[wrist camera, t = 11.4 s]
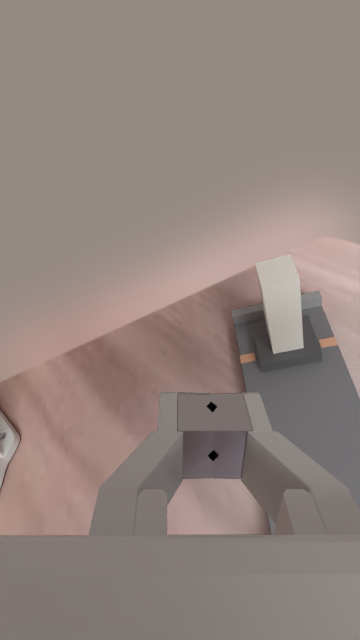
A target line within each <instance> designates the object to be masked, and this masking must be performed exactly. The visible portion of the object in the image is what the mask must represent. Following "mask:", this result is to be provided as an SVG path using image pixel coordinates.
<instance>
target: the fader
mask: <svg viewBox="0 0 360 640" xmlns="http://www.w3.org/2000/svg"><path fill="white" fill-rule="evenodd" d="M255 266H256V271H257V277H258V282H259V287H260V293H261V298H262V304H263V309H264V314H265V320H266V324H262V325H258V326H253V327H252V328H253V333H254V338H255V342H256V347H257V351H258V356H259V360H260V365H261V369H262V372H264V371H270V370H275V369H281V368H286V367H291V366H297V365H302V364H308V363H313V362H318V361H322V351H321V349H320V346H319V343H318V340H317V338H316V335H315V332H314V330H313V327H312V324H311V321H310V319H309V316H308V315H304V316H302V309H301V292H300V278H299V275H298V273H297V270H296V267H295V265H294V262H293V259H292V257H291V254H289V255H285V256H281V257H277V258H273V259H269V260H265V261H262V262H257V263H255Z"/></svg>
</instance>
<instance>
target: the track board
mask: <svg viewBox="0 0 360 640" xmlns="http://www.w3.org/2000/svg"><path fill="white" fill-rule="evenodd" d="M321 303H322V297H321V294H320V292H319V291H314V292H310V293H305V294H301V309H302V316H304V315H308V316H309V319H310V321H311V324H312V327H313V330H314V332H315V335H316V338H317V340H318V343H319V346H320V349H321V351H322V361H318V362H313V363H308V364H302V365H297V366H291V367H286V368H281V369H275V370H270V371H264V372H262V369H261V365H260V360H259V356H258V351H257V347H256V342H255V338H254V333H253V328H252V327H253V326H258V325H262V324H266V320H265V314H264V309H263V304H262V303H261V304H257V305H252V306H248V307H244V308H239V309H235V310H231V314H232V319H233V322H234V326H235V331H236V337H237V343H238V348H239V354H240V360H241V365H242V371H243V377H244V382H245V388H246V393H248V392H258V393H259V394H260V396H261V398H262V401H263V404H264V407H265V410H266V413H267V416H268V419H269V422H270V424H271V427H272V430H273V431H275V432H279V433H280V434H282V435H283V436H284V437H285V438H287V439H288V440H289V441H290V442H292V443H293V444H294V445H295V446H297V447H298V448H299V449H300V450H302V451H303V452H304V453H305V454H307V455H308V456H309V457H310V458H312V459H313V460H314V461H315V462H316V463H318V464H319V465H320V466H321V467H323V468H324V469H325V470H326V471H328V472H329V473H330V474H331V475H333V476H334V477H335V478H336V479H338V480H339V481H340V482H341V483H343V484H344V485H345V486H346V487H348V489H349V491H350V493H351V495H352V497H353V499H354V500H355V502H356V504H357V506H358V508H359V510H360V398H359V396H358V394H357V391H356V389H355V386H354V384H353V381H352V379H351V376H350V374H349V372H348V369H347V367H346V364H345V362H344V359H343V357H342V354H341V352H340V350H339V347H338V344H337V342H336V339H335V337H334V335H333V333H332V330H331V328H330V325H329V323H328V320H327V318H326V315H325V313H324V311H323V308H322V306H321ZM268 518H269V524H270V529H271V534H274V532H275V528H276V524H275V523H274V522H273V520H272V519H271V518H270V516H269V515H268Z"/></svg>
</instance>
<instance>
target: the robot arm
mask: <svg viewBox="0 0 360 640" xmlns="http://www.w3.org/2000/svg"><path fill="white" fill-rule="evenodd" d="M4 437H5V438H4ZM19 442H20V436H19V434H18V433H17V432H16V430H15V429H14V428H13V426H12V425H11V424H10V422H9V421H8V420H7V418H6V417H5V416H4V414H3V413H2V411H1V410H0V488H1V485H2V481H3V478H4V474H5V470H6V467H7V465H8V463H9V461H10V459H11V458H12V456H13V454H14V453H15V451H16V449H17V447H18V445H19ZM203 478H220V479H241V481H242V482H243V484H244V485H245V486H246V487H247V489H248V490H249V491H250V492H251V494H252V495H253V496H254V497H255V499H256V500H257V501H258V503H259V504H260V505H261V506H262V508H263V509H264V510H265V511H266V513H267V514H268V515H269V516H270V518H271V519H272V520H273V522H274V523H275V524H276V528H275V532H274V534H240V535H167V505H168V504H169V502H170V500H171V499H172V497H173V495H174V494H175V492H176V490H177V489H178V487H179V485H180V484H181V482H182V479H203ZM0 640H360V510H359V508H358V506H357V504H356V502H355V500H354V499H353V497H352V495H351V493H350V491H349V489H348V487H346V486H345V485H344V484H343V483H341V482H340V481H339V480H338V479H336V478H335V477H334V476H333V475H331V474H330V473H329V472H328V471H326V470H325V469H324V468H323V467H321V466H320V465H319V464H318V463H316V462H315V461H314V460H313V459H312V458H310V457H309V456H308V455H307V454H305V453H304V452H303V451H302V450H300V449H299V448H298V447H297V446H295V445H294V444H293V443H292V442H290V441H289V440H288V439H287V438H285V437H284V436H283V435H282V434H280V433H279V432H275V431H273V430H272V427H271V424H270V422H269V419H268V416H267V413H266V410H265V407H264V404H263V401H262V398H261V396H260V394H259V393H258V392H248V393H185V392H177V393H176V392H161V393H160V399H159V414H158V429H157V431H154V432H152V433H151V434H150V435H149V436H148V437H147V438H146V439H145V440H144V441H143V442H142V443H141V444H140V445H139V446H138V447H137V448H136V450H135V451H134V452H133V453H132V454H131V455H130V456H129V457H128V458H127V459H126V460H125V461H124V462H123V463H122V464H121V466H120V467H119V468H118V469H117V470H116V471H115V472H114V473H113V474H112V475H111V476H110V477H109V478H108V479H107V480H106V482H105V483H104V484H103V485H102V486H101V487H100V488H99V492H98V497H97V501H96V505H95V510H94V514H93V518H92V523H91V527H90V532H89V535H0Z"/></svg>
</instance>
